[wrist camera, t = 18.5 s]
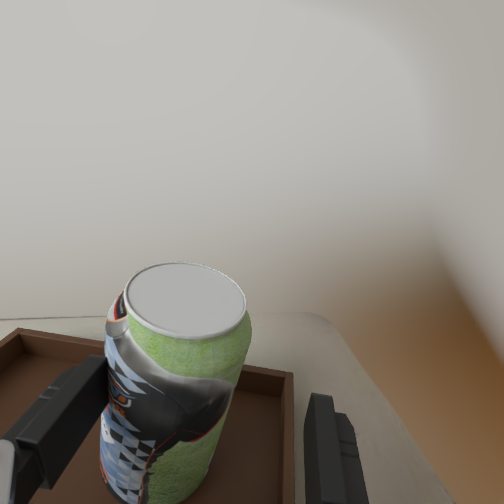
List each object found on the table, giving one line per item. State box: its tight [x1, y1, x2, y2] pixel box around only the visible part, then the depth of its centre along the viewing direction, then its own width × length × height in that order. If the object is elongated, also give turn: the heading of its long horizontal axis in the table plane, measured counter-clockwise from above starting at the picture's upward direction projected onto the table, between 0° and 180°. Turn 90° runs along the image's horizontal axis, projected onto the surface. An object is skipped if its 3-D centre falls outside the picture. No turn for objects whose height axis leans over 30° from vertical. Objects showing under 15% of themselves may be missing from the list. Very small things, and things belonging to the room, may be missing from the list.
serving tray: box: [0, 328, 295, 504], centre depth 17 cm, size 21×13×3 cm, turn 83°
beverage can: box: [99, 262, 252, 504], centre depth 15 cm, size 6×7×12 cm
